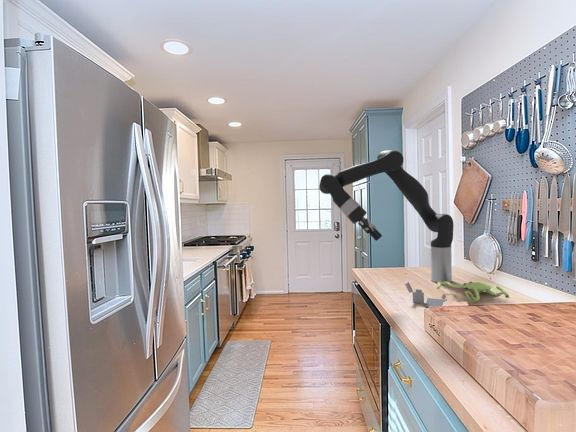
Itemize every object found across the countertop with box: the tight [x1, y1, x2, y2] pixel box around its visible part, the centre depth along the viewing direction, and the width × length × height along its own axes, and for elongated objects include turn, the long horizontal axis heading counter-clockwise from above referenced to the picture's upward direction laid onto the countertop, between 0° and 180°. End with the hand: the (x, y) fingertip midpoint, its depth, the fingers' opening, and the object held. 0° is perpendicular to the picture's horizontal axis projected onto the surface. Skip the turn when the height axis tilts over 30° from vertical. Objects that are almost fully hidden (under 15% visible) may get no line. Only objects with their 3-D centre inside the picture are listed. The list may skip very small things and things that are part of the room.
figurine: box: [436, 281, 509, 303], centre depth 142 cm, size 18×27×6 cm
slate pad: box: [425, 297, 448, 308], centre depth 129 cm, size 11×15×1 cm
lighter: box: [404, 281, 425, 304], centre depth 134 cm, size 7×2×8 cm, turn 64°
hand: (379, 238), depth 142 cm, fingers open, 8 cm apart
